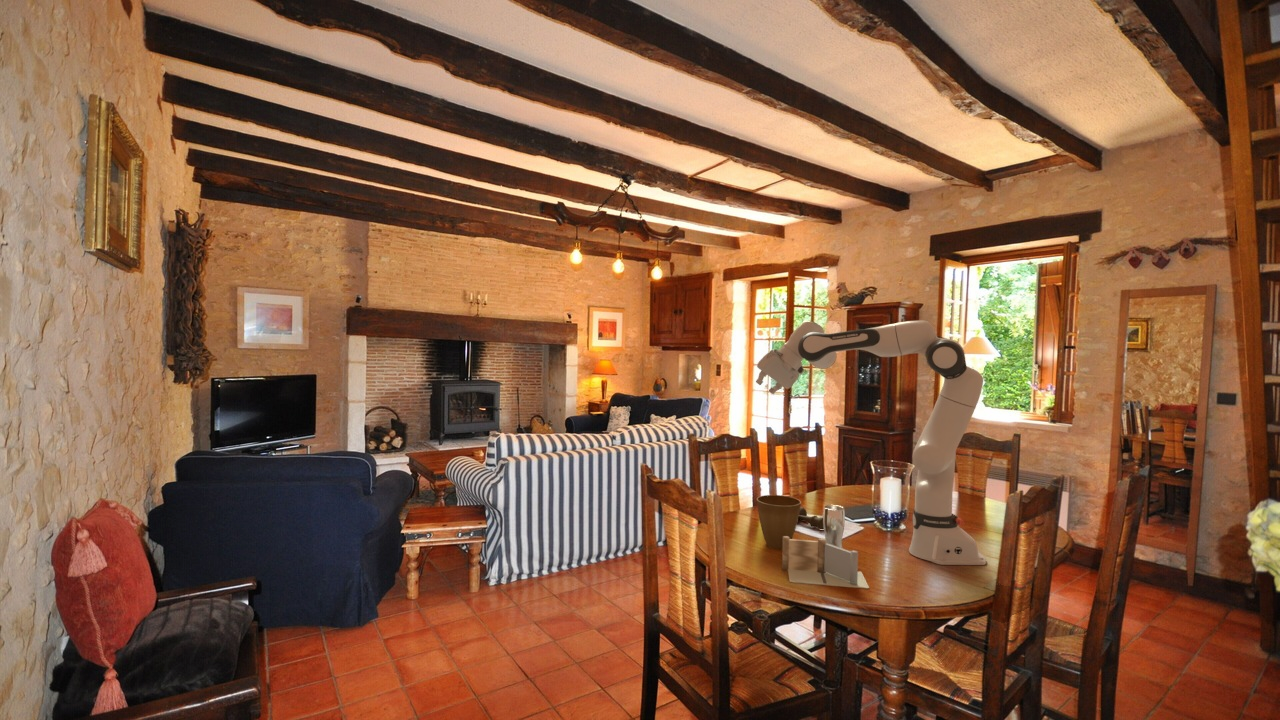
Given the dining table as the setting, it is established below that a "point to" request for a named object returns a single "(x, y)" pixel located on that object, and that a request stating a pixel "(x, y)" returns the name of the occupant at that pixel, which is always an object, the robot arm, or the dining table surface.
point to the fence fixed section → (803, 554)
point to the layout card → (824, 579)
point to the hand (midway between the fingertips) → (764, 388)
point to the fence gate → (841, 563)
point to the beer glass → (834, 524)
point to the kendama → (810, 519)
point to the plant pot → (778, 518)
